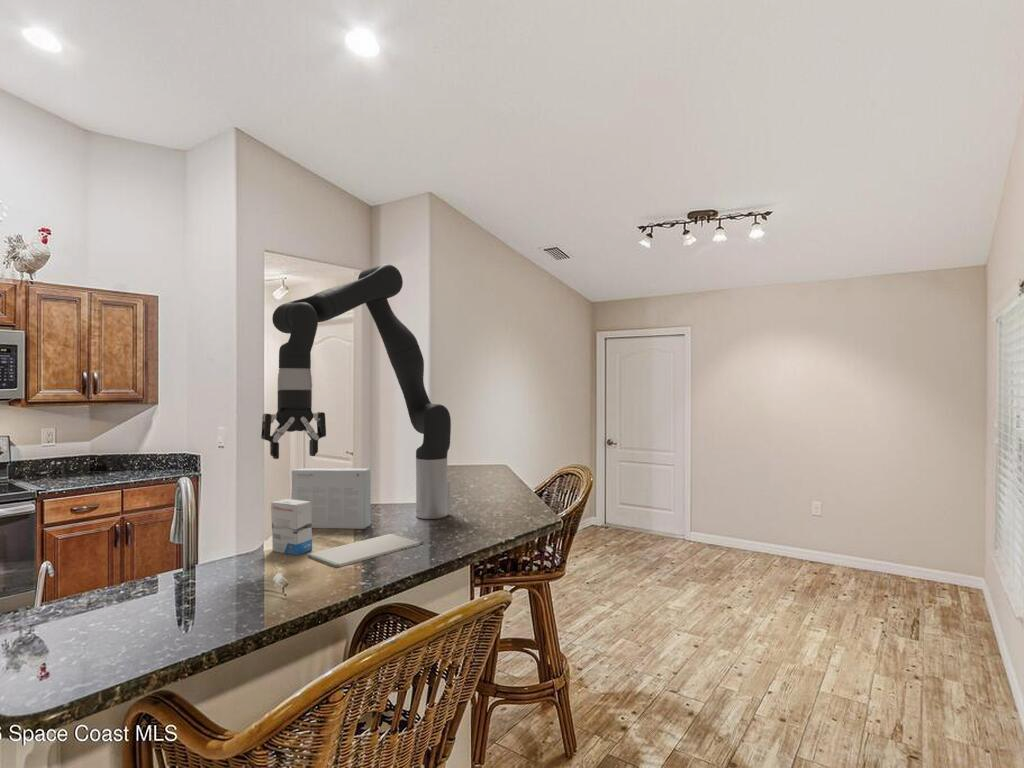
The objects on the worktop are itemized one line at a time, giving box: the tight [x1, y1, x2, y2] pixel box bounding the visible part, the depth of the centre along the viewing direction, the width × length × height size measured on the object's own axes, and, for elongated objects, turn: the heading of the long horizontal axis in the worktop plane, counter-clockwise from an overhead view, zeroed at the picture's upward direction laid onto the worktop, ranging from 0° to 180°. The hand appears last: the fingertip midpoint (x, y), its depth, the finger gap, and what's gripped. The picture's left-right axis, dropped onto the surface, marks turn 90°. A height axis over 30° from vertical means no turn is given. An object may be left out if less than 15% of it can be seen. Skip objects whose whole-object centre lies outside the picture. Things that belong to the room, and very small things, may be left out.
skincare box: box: [290, 467, 372, 530], centre depth 160 cm, size 21×5×16 cm, turn 84°
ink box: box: [270, 498, 313, 556], centre depth 136 cm, size 9×5×12 cm, turn 62°
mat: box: [306, 532, 424, 569], centre depth 136 cm, size 24×12×1 cm, turn 139°
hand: (294, 457), depth 135 cm, fingers open, 8 cm apart
